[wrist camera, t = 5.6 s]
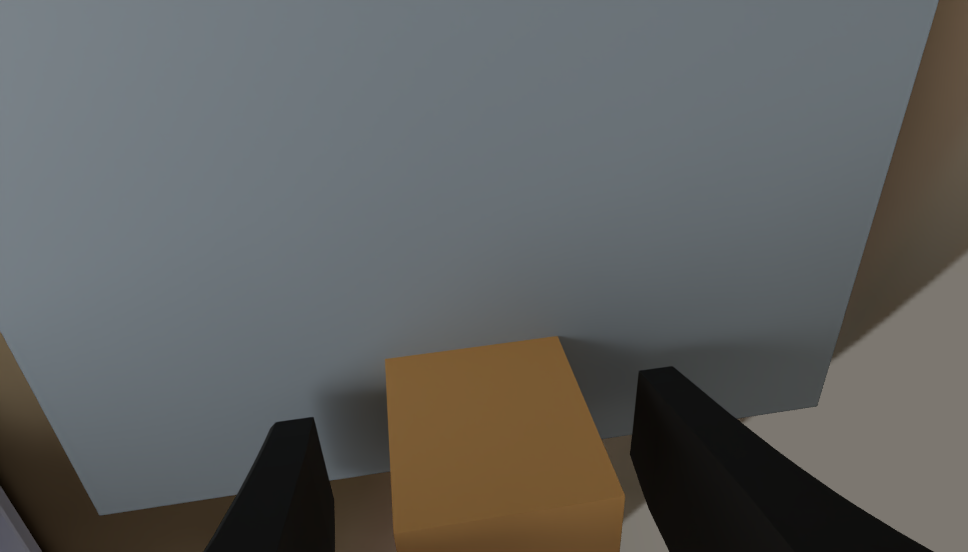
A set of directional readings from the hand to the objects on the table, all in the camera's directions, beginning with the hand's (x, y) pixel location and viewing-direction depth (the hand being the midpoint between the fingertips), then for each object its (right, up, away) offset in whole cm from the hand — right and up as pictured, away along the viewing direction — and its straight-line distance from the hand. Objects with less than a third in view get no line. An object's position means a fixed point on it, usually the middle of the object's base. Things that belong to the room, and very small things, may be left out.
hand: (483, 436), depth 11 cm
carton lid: (0, +5, -1) cm, 5 cm away
